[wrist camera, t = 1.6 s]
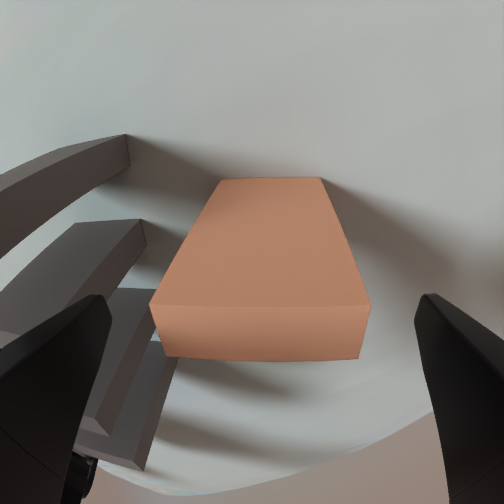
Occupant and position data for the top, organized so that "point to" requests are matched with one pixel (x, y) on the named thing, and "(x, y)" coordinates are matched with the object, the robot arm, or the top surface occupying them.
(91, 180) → the domino
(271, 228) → the domino end
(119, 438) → the domino
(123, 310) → the domino
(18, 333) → the domino
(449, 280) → the top surface
